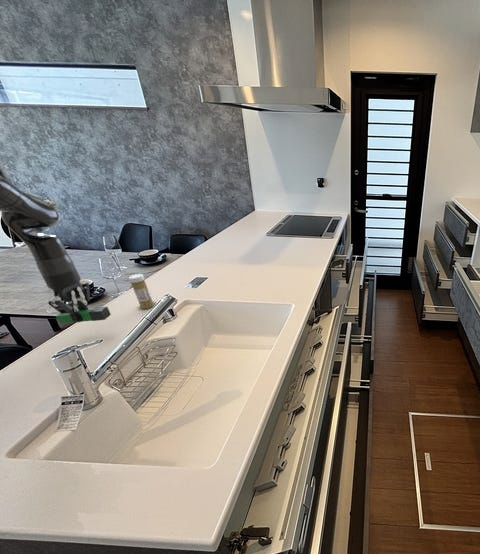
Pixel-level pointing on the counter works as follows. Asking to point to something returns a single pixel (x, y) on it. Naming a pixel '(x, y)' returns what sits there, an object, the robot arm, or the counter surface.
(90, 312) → the marker
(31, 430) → the counter surface
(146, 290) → the sprinkles bottle
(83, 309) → the robot arm
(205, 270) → the counter surface
